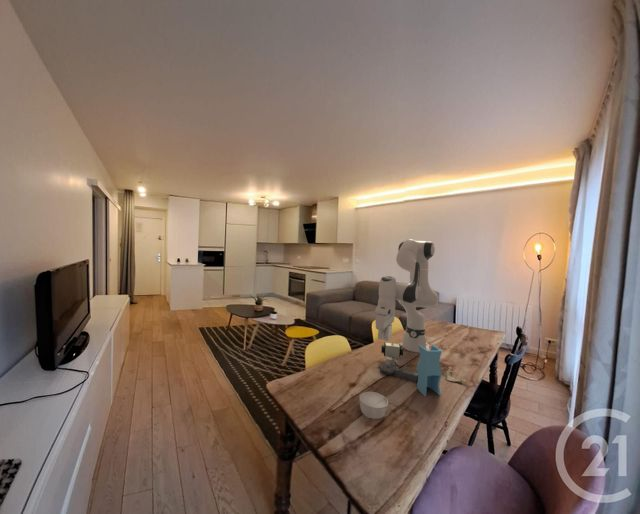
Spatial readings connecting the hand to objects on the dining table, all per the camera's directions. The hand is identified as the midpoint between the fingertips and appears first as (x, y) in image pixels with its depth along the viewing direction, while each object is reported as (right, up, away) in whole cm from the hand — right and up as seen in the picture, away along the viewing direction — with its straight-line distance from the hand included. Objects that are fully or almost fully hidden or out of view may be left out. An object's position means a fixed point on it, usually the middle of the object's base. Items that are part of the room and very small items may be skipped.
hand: (384, 333), depth 140 cm
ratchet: (+9, -21, -4) cm, 23 cm away
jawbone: (+38, -23, 0) cm, 44 cm away
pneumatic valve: (+6, -20, +12) cm, 24 cm away
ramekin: (-13, -21, -35) cm, 43 cm away
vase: (+16, -22, -16) cm, 31 cm away
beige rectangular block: (0, -2, 0) cm, 2 cm away
